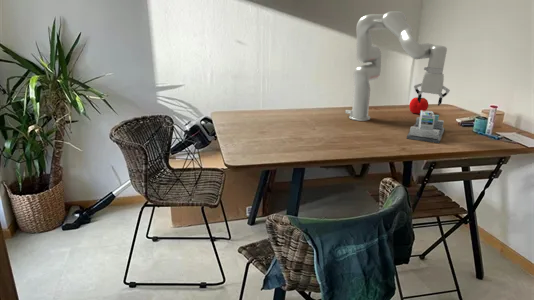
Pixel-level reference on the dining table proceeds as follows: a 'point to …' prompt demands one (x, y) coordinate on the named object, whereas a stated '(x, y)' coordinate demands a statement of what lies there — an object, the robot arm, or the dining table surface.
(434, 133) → the base
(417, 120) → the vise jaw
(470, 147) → the dining table surface
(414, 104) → the tomato
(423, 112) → the light bulb box
